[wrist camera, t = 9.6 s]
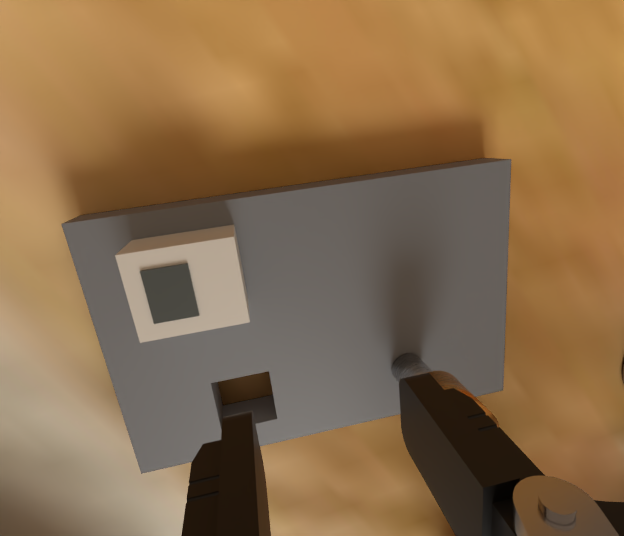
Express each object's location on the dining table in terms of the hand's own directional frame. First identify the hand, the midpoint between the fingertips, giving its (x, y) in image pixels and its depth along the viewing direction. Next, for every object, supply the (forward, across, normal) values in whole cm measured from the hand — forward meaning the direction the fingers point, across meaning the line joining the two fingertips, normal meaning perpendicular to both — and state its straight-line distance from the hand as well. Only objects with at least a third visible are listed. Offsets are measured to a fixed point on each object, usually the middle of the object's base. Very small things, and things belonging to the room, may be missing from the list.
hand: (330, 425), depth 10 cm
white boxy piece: (+16, +5, 0) cm, 17 cm away
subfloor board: (+19, -2, +5) cm, 20 cm away
